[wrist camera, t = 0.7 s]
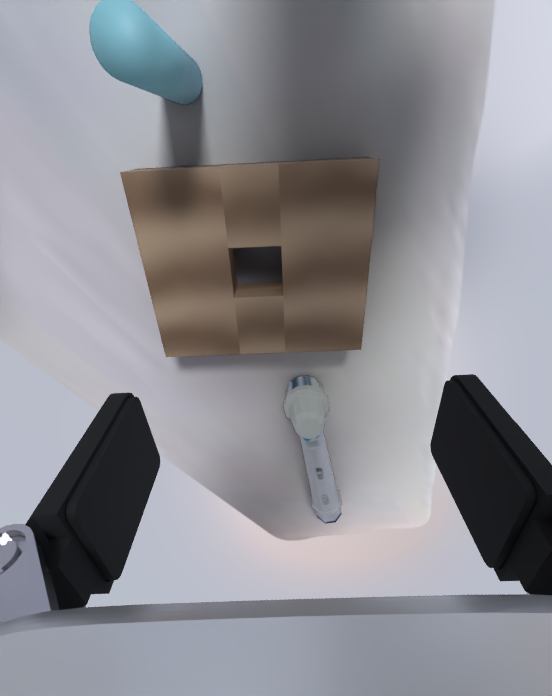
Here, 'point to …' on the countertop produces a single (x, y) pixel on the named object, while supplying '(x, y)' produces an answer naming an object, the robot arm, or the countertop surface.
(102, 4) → the peg
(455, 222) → the countertop surface
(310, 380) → the white handheld massager
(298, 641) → the robot arm
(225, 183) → the socket block
